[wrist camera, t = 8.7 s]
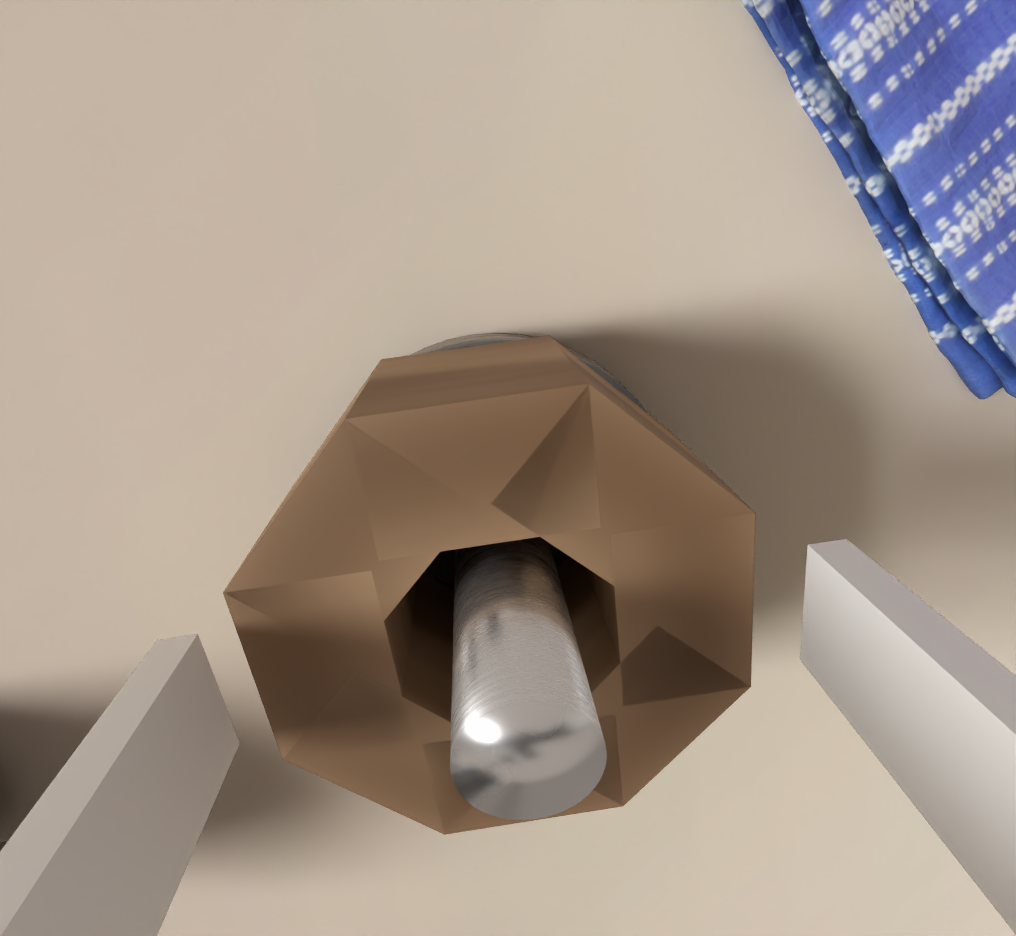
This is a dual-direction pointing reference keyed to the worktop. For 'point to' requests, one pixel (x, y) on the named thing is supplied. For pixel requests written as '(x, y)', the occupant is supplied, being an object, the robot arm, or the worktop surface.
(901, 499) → the worktop surface
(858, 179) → the dish towel
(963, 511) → the worktop surface
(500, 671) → the silver peg stand
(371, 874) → the worktop surface
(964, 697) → the robot arm
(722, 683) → the walnut ring
